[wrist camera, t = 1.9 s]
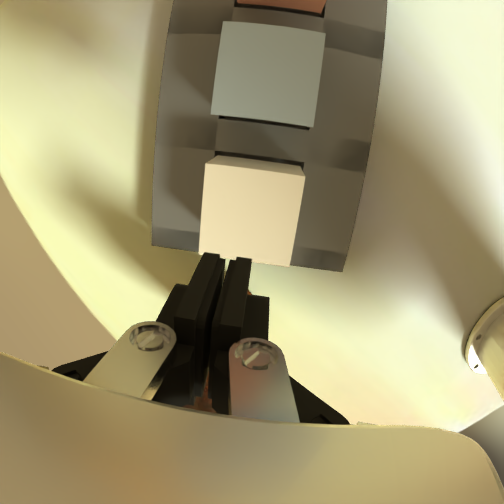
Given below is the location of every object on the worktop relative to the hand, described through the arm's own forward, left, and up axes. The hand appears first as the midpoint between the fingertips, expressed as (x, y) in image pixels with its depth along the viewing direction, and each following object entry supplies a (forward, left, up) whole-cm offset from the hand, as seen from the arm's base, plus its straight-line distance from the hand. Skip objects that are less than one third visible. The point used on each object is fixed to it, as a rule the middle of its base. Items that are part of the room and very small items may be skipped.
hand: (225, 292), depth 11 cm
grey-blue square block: (0, -9, -14) cm, 16 cm away
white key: (0, 0, -14) cm, 14 cm away
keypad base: (0, -9, -17) cm, 19 cm away
